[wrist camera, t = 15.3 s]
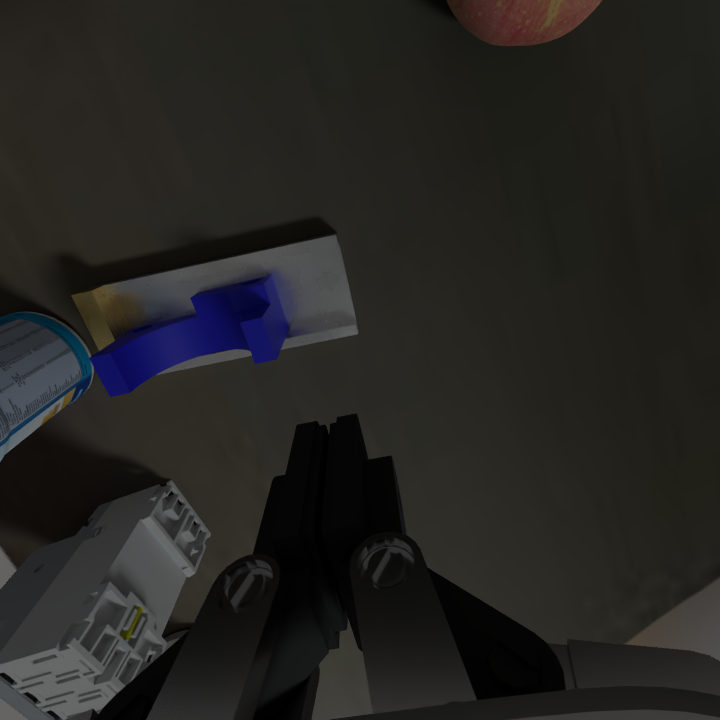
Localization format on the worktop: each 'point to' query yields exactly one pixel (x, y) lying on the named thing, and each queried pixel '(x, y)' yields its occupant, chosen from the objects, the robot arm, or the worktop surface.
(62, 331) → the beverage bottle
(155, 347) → the blue plastic bracket
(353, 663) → the worktop surface
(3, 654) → the circuit breaker
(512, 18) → the apple
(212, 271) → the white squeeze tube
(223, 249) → the worktop surface
